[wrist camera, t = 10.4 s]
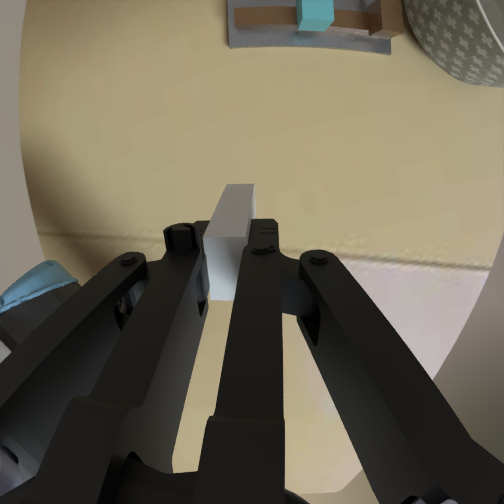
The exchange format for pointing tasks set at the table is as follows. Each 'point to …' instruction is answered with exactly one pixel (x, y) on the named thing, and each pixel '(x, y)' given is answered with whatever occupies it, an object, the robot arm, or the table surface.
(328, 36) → the gauge board
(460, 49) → the planter
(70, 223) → the table surface
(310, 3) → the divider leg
